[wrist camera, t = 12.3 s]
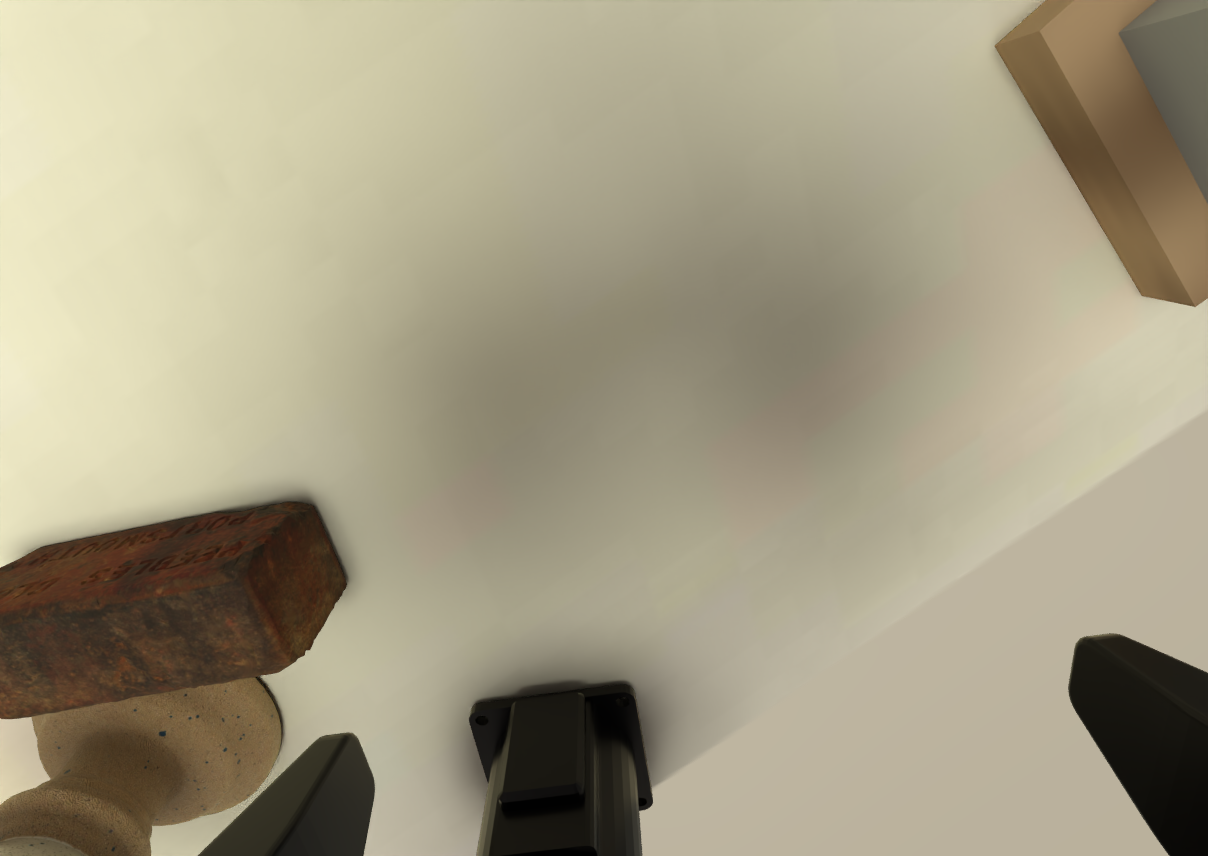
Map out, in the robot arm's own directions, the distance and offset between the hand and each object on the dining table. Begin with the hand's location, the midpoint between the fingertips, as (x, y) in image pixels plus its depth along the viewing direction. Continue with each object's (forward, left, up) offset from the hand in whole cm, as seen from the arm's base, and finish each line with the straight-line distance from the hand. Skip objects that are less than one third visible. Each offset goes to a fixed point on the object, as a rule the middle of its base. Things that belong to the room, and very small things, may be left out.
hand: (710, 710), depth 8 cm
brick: (-4, +16, -13) cm, 22 cm away
